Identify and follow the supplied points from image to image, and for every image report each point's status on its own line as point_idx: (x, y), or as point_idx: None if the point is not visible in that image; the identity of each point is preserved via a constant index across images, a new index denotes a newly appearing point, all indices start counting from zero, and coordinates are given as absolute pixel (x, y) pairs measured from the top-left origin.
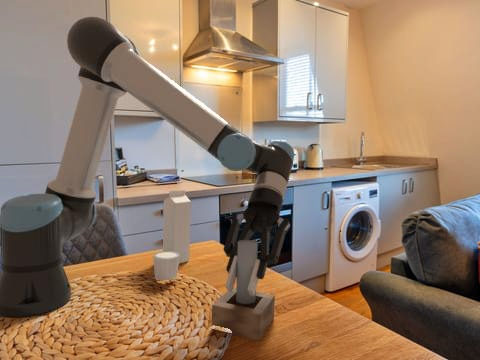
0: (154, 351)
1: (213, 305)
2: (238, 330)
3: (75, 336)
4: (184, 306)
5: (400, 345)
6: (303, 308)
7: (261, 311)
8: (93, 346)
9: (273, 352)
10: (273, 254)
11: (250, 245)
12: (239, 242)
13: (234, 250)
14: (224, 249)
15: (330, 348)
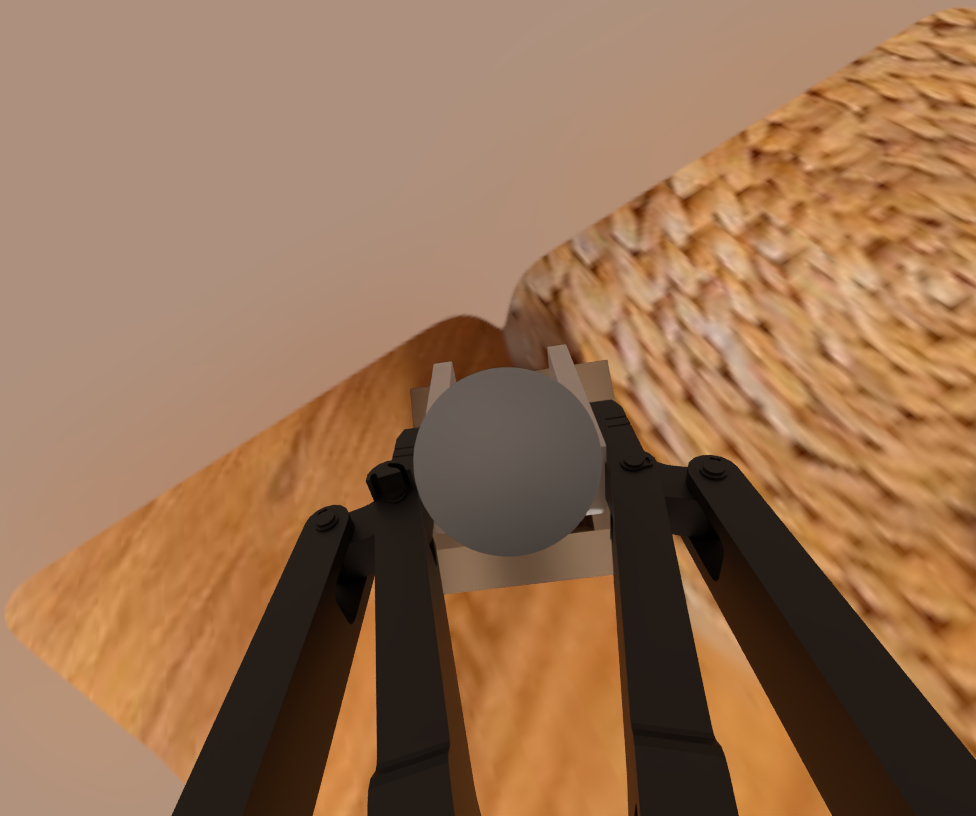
0: (652, 207)
1: (601, 361)
2: None
3: (902, 135)
4: (787, 470)
5: (52, 620)
6: (375, 726)
7: (419, 418)
8: (809, 135)
9: (374, 376)
10: (318, 528)
11: (445, 392)
12: (568, 407)
13: (636, 479)
14: (721, 460)
15: (238, 485)
